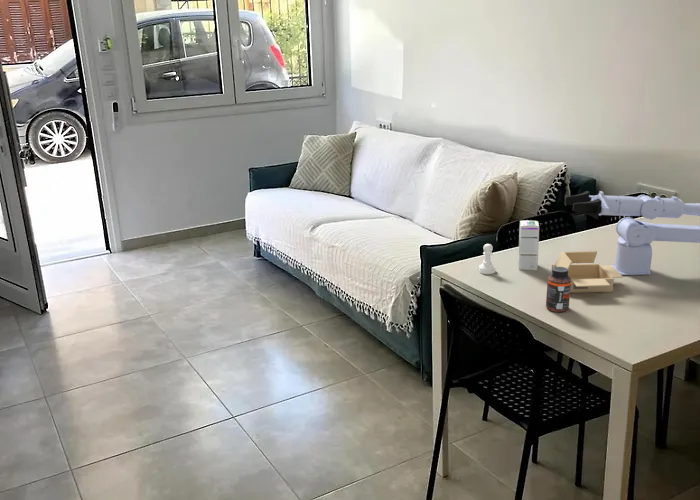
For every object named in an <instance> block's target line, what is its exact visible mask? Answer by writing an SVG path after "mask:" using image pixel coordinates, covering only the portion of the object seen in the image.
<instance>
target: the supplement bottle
mask: <svg viewBox="0 0 700 500" xmlns="http://www.w3.org/2000/svg"><path fill="white" fill-rule="evenodd" d="M551 271H552V274H550V275H548V276H547V286H546V297H545V298H546V301H545V307H546V309H547V310H548V311H551V312H555V313H563V312H566V311H568V310H569V307H570V298H571V293H570V289H571V278H570V277H569V276H568V269H567V268H565V267H554V268H553V269H552V268H551Z"/></svg>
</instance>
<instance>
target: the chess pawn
mask: <svg viewBox="0 0 700 500" xmlns="http://www.w3.org/2000/svg"><path fill="white" fill-rule="evenodd" d="M482 248H483V252H482V254H483V255H484V260H482V263H481V264H479V266H478V268H479V269H478V271H479V273H481V274H483V275H493V274H495V273H496V269H497V268H496V265H494V264H493V261H492V259H491V256H492V255H493V252H492V251H493V248H494V247H493V245H492V244H491V243H486V244H484V245H483V247H482Z"/></svg>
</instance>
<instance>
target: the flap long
mask: <svg viewBox="0 0 700 500" xmlns="http://www.w3.org/2000/svg"><path fill="white" fill-rule="evenodd" d="M571 264H573V263H572V261H571V260H570V259H569V257H568V256H567V255H566V254H565V251H563V250H562V251H561V252H560V254H559V256H558V258H557V259H556V261H555V264H554V265H556V266H557V267H565V268H567V269H569V267H570V266H571Z"/></svg>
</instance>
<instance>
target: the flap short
mask: <svg viewBox="0 0 700 500" xmlns="http://www.w3.org/2000/svg"><path fill="white" fill-rule="evenodd" d="M564 253H565V254H566V255H567V256H568V257H569V259H570V260H571V261H572V264H595V260H596V256H597V254H598V251H597V250H589V251H588V250H586V251H584V250H583V251H582V250H581V251H564Z"/></svg>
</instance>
